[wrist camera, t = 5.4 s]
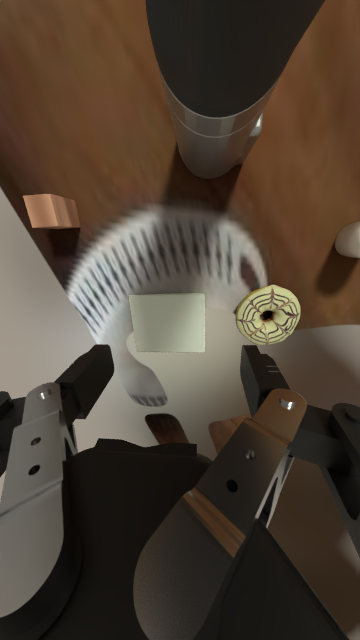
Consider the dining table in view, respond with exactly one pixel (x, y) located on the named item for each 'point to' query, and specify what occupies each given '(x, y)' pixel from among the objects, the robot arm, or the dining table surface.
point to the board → (168, 322)
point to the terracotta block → (52, 211)
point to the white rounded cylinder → (349, 240)
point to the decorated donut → (277, 324)
